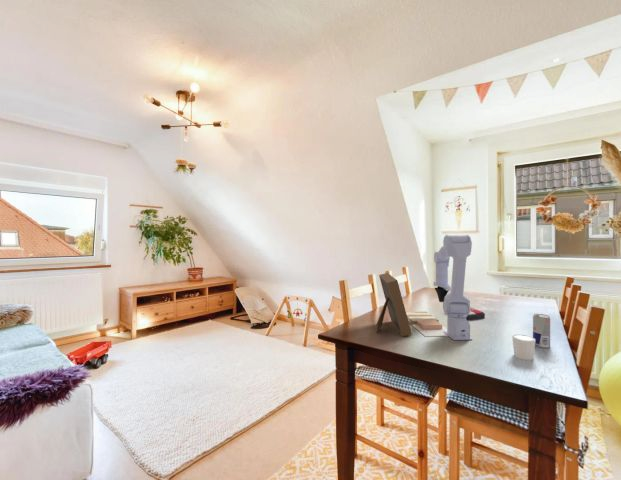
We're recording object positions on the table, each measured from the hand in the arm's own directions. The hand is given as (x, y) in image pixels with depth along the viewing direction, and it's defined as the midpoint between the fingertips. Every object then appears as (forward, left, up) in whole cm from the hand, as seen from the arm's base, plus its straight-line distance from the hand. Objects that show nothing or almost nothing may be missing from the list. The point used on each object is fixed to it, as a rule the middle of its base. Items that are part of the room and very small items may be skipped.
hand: (441, 301), depth 149 cm
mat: (-15, +11, -9) cm, 20 cm away
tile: (-11, +11, -9) cm, 18 cm away
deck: (+1, +11, -9) cm, 15 cm away
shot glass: (-44, -9, -10) cm, 46 cm away
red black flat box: (+7, -16, -10) cm, 20 cm away
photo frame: (-11, +30, -10) cm, 33 cm away
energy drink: (-35, -23, -10) cm, 43 cm away
